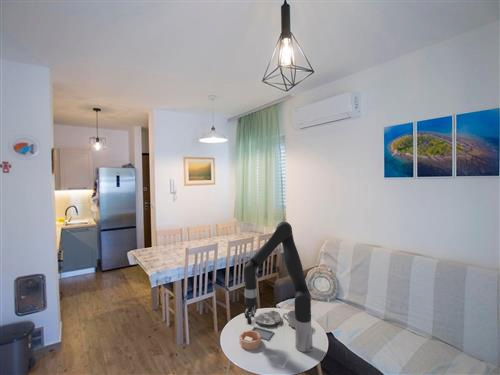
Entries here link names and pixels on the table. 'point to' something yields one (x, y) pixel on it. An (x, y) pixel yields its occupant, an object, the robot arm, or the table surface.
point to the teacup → (290, 318)
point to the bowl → (251, 344)
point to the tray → (263, 333)
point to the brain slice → (268, 318)
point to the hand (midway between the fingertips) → (251, 322)
